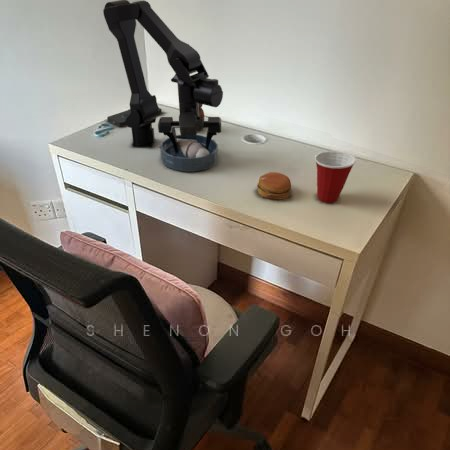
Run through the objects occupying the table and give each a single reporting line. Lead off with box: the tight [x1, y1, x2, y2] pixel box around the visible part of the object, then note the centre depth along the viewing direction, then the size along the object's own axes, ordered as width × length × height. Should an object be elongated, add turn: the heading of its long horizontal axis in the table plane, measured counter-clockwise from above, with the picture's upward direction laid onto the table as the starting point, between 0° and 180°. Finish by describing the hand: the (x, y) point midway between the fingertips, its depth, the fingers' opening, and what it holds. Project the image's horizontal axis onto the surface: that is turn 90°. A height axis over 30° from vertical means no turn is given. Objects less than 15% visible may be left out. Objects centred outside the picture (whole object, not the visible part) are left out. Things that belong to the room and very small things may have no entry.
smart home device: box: [106, 107, 162, 128], centre depth 157 cm, size 8×2×20 cm
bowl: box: [159, 134, 219, 172], centre depth 132 cm, size 18×18×4 cm
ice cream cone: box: [177, 139, 209, 158], centre depth 131 cm, size 6×6×15 cm
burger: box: [256, 171, 292, 200], centre depth 118 cm, size 10×9×5 cm
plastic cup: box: [314, 150, 357, 204], centre depth 114 cm, size 11×11×12 cm
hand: (191, 152), depth 131 cm, fingers open, 9 cm apart
